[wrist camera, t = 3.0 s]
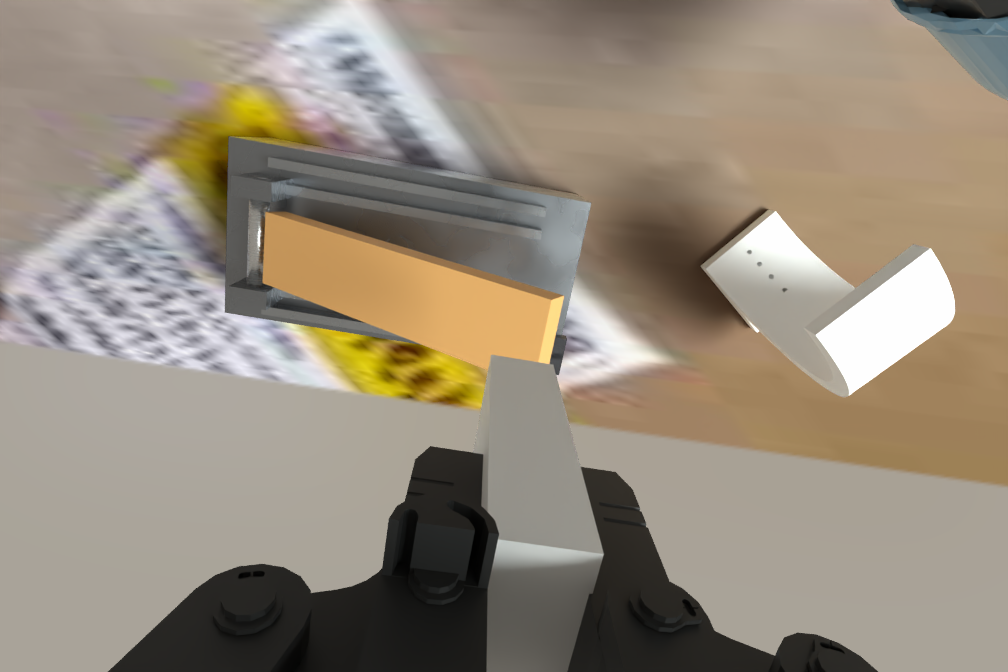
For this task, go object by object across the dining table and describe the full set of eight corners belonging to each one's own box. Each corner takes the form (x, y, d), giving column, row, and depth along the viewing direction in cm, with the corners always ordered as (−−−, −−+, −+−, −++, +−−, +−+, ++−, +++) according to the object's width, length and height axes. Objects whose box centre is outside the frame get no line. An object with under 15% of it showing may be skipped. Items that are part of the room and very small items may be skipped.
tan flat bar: (281, 280, 25) (262, 282, 24) (285, 211, 24) (265, 211, 23) (545, 379, 19) (533, 387, 18) (564, 295, 18) (551, 299, 17)
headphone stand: (768, 208, 30) (931, 247, 19) (828, 289, 32) (1012, 369, 20) (699, 265, 31) (814, 334, 20) (760, 341, 33) (899, 445, 21)
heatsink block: (266, 287, 31) (197, 329, 24) (272, 137, 29) (198, 135, 22) (546, 334, 32) (560, 387, 25) (576, 193, 30) (601, 209, 23)
